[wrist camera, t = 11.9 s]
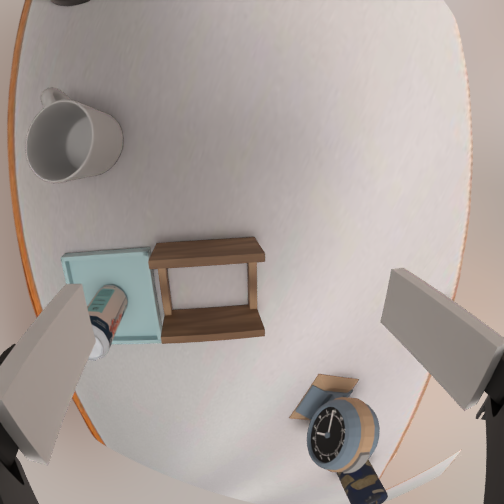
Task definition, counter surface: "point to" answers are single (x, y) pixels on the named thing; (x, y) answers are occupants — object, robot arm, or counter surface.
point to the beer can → (106, 317)
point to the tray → (128, 280)
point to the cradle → (215, 318)
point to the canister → (363, 486)
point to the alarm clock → (337, 424)
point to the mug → (71, 139)
